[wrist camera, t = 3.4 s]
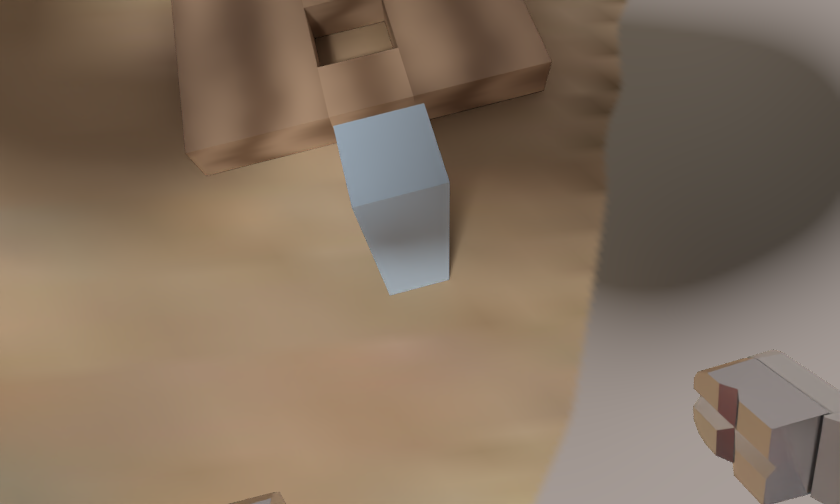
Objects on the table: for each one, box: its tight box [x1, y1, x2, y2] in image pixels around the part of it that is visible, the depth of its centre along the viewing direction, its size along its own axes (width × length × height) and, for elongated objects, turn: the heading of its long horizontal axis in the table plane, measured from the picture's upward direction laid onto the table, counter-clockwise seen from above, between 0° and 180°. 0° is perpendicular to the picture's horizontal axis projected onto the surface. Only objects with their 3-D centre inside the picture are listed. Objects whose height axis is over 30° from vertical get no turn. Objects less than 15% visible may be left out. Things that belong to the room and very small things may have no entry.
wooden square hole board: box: [171, 0, 552, 176], centre depth 36 cm, size 26×15×3 cm, turn 105°
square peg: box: [333, 103, 450, 295], centre depth 25 cm, size 4×4×13 cm
